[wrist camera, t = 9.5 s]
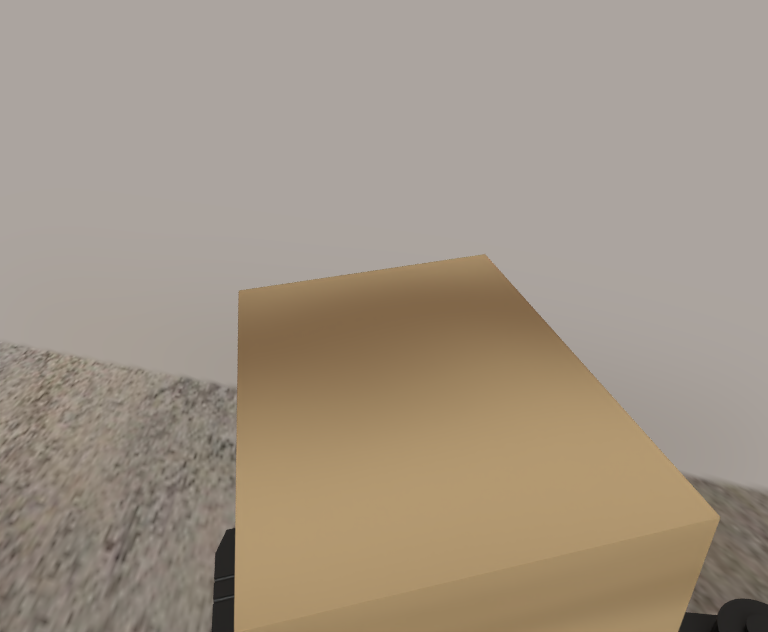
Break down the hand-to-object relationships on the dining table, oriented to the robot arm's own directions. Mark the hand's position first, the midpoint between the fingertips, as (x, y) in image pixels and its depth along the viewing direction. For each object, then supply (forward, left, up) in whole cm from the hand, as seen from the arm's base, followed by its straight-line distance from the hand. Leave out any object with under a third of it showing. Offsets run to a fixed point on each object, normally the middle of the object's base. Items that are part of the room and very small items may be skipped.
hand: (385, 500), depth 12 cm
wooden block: (+2, -2, -6) cm, 7 cm away
